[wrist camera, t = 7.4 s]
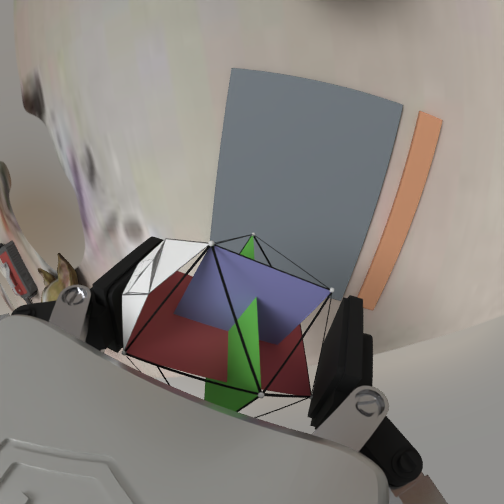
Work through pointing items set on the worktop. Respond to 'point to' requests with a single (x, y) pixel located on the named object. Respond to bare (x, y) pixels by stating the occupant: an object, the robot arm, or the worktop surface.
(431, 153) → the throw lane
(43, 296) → the ceramic sculpture
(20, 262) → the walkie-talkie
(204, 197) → the worktop surface
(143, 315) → the geometric puzzle
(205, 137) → the worktop surface
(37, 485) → the robot arm
